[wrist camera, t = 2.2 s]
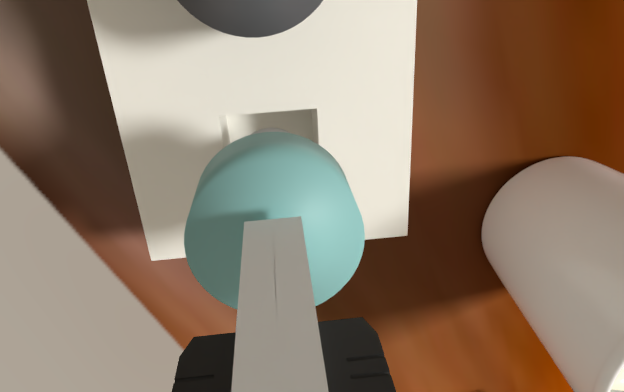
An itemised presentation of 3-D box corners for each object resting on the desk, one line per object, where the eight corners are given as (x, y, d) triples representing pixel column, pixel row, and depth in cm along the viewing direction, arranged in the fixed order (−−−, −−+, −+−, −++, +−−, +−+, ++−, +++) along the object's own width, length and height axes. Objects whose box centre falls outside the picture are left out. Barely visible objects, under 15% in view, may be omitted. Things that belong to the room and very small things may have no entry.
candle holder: (663, 169, 27) (936, 303, 16) (570, 302, 30) (740, 483, 19) (520, 118, 24) (724, 233, 14) (438, 268, 28) (548, 452, 17)
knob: (199, 103, 18) (167, 169, 12) (330, 93, 18) (364, 152, 12) (218, 219, 20) (199, 323, 14) (335, 208, 21) (365, 306, 15)
